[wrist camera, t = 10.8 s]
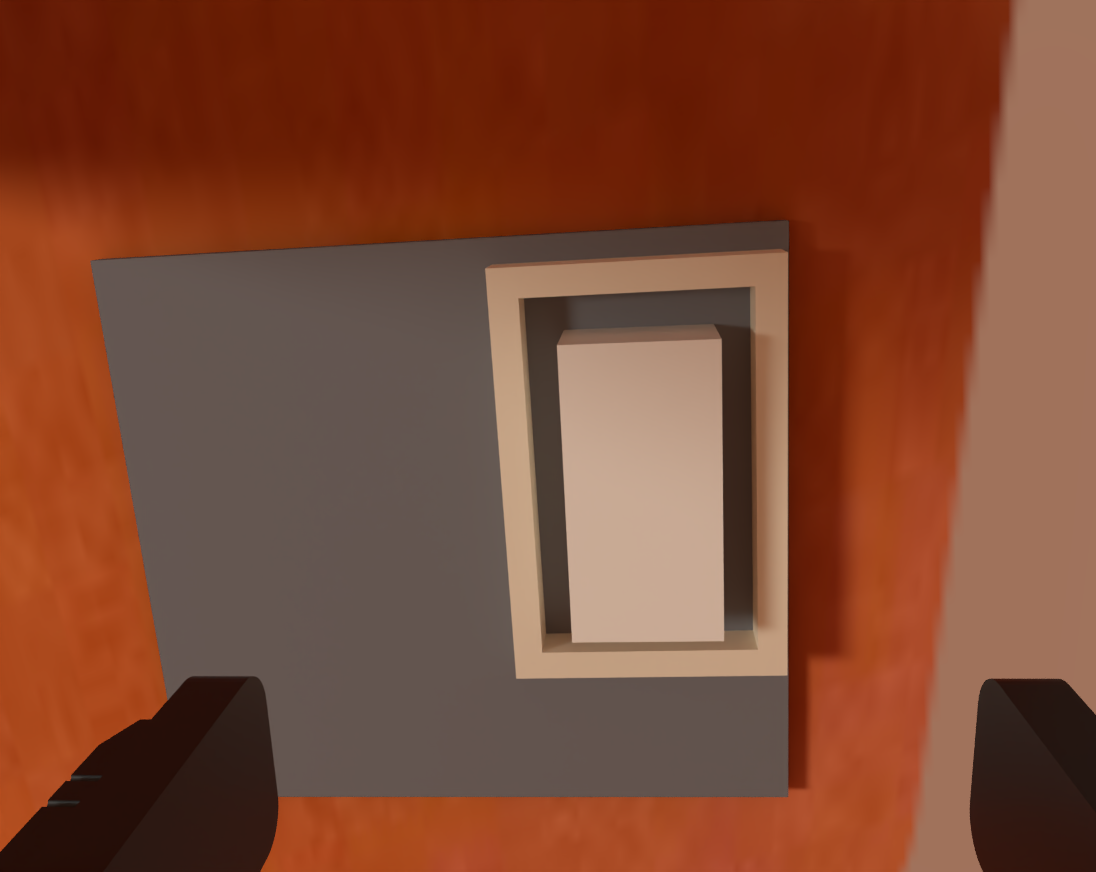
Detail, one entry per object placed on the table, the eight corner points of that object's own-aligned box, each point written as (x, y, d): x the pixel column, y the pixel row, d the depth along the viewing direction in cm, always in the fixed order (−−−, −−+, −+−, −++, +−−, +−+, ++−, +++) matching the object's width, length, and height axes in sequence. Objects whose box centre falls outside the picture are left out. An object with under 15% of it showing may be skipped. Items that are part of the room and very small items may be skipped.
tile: (563, 329, 26) (556, 345, 24) (713, 324, 26) (721, 339, 24) (577, 603, 28) (572, 642, 26) (716, 601, 28) (724, 641, 26)
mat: (192, 785, 32) (167, 820, 30) (101, 258, 28) (66, 264, 26) (785, 785, 30) (794, 822, 28) (785, 219, 26) (796, 222, 24)
